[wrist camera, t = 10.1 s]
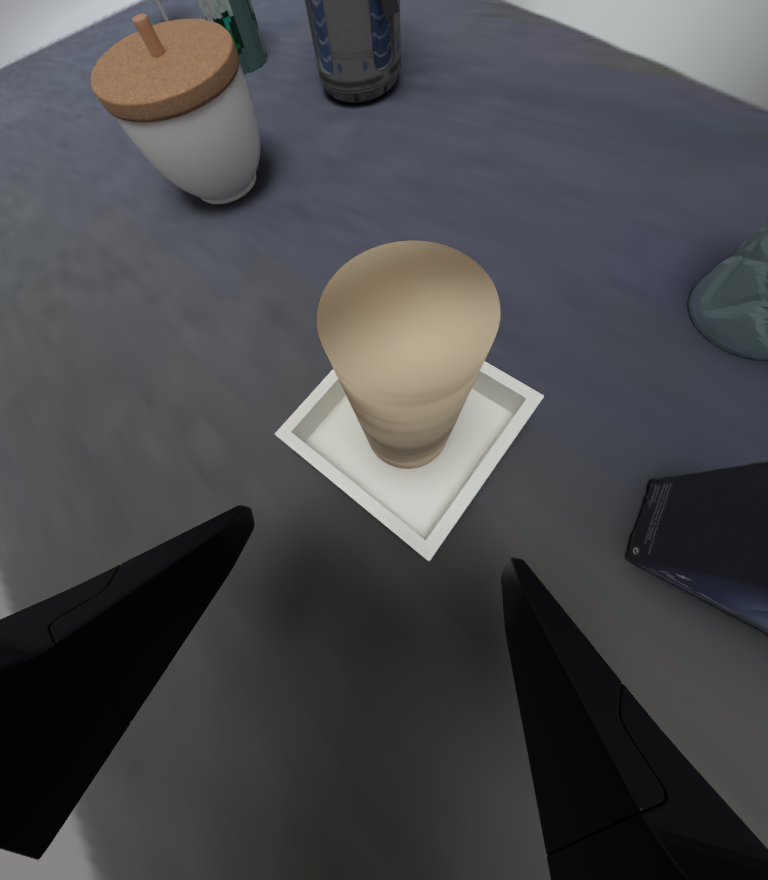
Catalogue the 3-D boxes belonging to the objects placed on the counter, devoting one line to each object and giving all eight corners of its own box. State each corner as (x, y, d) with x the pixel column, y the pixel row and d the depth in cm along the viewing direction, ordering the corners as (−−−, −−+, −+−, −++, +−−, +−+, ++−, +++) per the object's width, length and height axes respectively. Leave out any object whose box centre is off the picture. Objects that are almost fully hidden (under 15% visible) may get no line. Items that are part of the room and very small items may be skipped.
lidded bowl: (178, 159, 34) (76, -2, 24) (277, 138, 34) (218, -36, 23) (170, 232, 31) (46, 79, 20) (282, 209, 30) (215, 40, 20)
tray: (522, 416, 21) (544, 395, 18) (425, 555, 19) (429, 561, 16) (392, 336, 24) (389, 306, 21) (294, 447, 22) (274, 434, 19)
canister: (463, 446, 20) (539, 340, 8) (387, 482, 20) (358, 423, 8) (424, 380, 22) (443, 217, 10) (354, 412, 21) (293, 282, 10)
